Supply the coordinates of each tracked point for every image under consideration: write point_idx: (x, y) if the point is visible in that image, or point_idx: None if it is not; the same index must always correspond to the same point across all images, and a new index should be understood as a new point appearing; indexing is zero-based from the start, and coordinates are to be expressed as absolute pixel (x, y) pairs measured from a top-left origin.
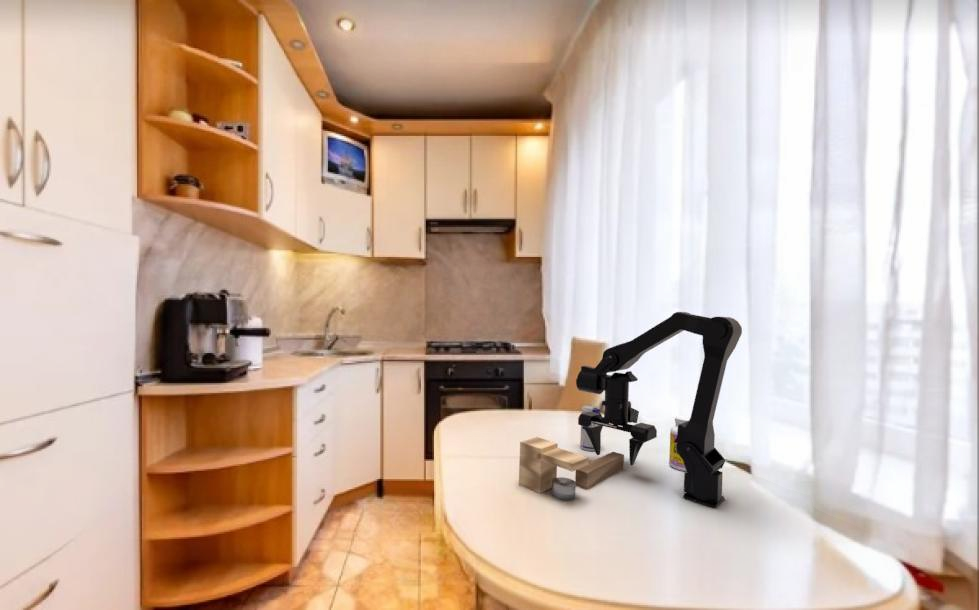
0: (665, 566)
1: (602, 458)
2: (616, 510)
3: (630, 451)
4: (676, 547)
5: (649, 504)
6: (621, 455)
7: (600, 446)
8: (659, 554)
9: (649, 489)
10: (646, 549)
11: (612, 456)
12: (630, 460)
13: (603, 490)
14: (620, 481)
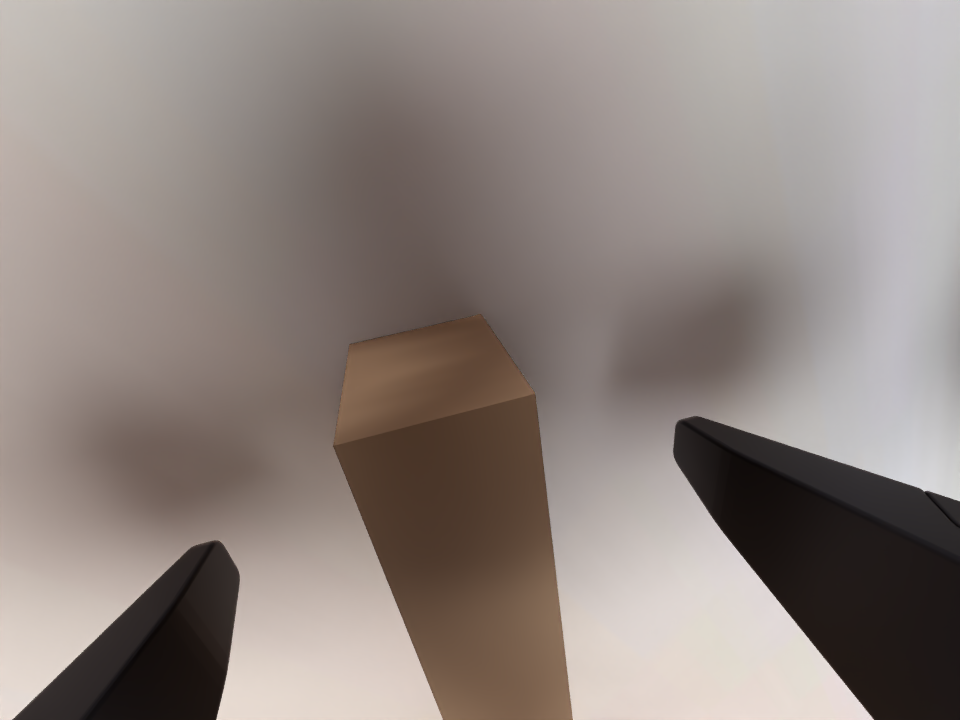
0: None
1: (465, 686)
2: (727, 689)
3: (852, 670)
4: None
5: None
6: (533, 454)
7: (153, 643)
8: None
9: None
10: (853, 713)
11: (486, 576)
12: (722, 516)
13: (605, 655)
14: (608, 520)
